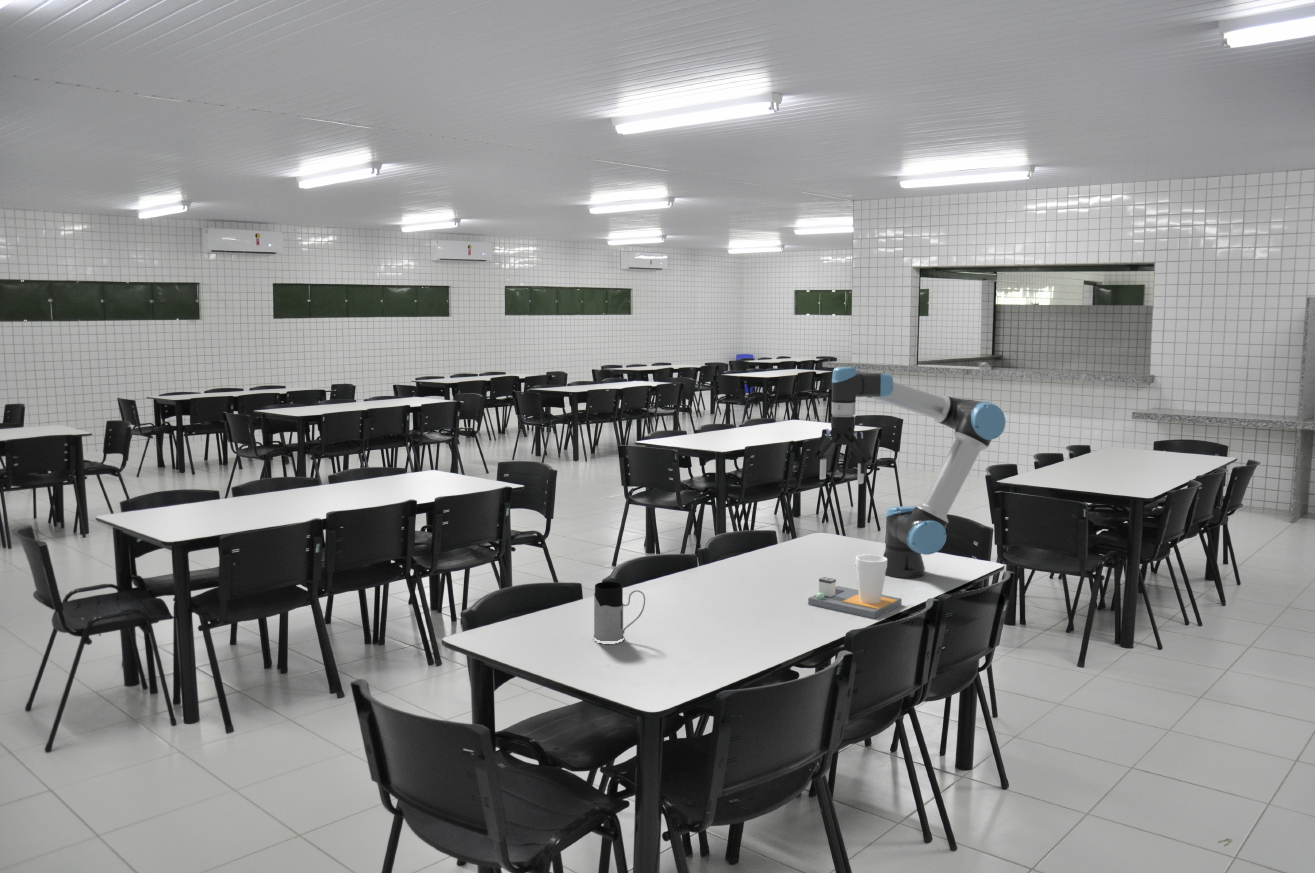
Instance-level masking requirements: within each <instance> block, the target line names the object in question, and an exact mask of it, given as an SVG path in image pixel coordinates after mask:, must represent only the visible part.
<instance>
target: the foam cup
mask: <svg viewBox="0 0 1315 873" xmlns="http://www.w3.org/2000/svg"><path fill="white" fill-rule="evenodd" d="M854 562H855V567H856V568H855V569H856V579H857V588H858V589H857V590H858V591H859V598H860V601H861V602H864V603H879V602H881V596H882V595H883V590H884V583H885V579H886V578H885V577H886V575H885V573H886V568H887V558H886V557H883V555H877V554H859V555H856V556H855V561H854Z"/></svg>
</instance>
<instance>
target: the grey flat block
mask: <svg viewBox="0 0 1315 873" xmlns="http://www.w3.org/2000/svg"><path fill="white" fill-rule="evenodd" d="M902 600H903V599H902V598H900V597H895V596H890V595H886V594H885V595H884V594H882V596H881V602H879V603H864V602H861V601H860V598H859V591H858V589H855V588H851V587H844V586H840V585H836V586H835V595H834V596H832V597H827V596H824V593H819V592H816V594H815V595H812V596H809V597H808V600H807V602H808V603H807V605H810V606H814V607H818V606H819V608H824V609H827V608H828V610H832V611H836V610H837V612H841V611H842V612H841V613H845V612H846V613H845V614H850V613H851V615H855V614H856V615H855V616H859V615H860V616H861V617H865V618H868V619H869V618H870V619H873V620H874V619H876V618H878V617H880V616H882V615H884V614H886V613H889V612H890V611H892V610H894V609H896V608H898V607H901V606H902Z"/></svg>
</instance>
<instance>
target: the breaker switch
mask: <svg viewBox="0 0 1315 873" xmlns="http://www.w3.org/2000/svg"><path fill="white" fill-rule="evenodd" d="M836 583H837V579H835V578H832V577H827V576H823V577H820V578H819V579H818V593H824V596H827V597H832V596H834V595H835V587H836V586H837V585H836Z"/></svg>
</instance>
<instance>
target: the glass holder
mask: <svg viewBox="0 0 1315 873" xmlns="http://www.w3.org/2000/svg"><path fill="white" fill-rule="evenodd" d="M623 589H624V587H623V583H621V582H617V581H601V582H598V583H596V584H594V593H593V596H594V597H593V598H594V599H593V603H594V604H593V613H594V614H593V618H594V619H593V623H594V624H593V625H594V626H593V627H594V628H593V631H594V632H593V633H594V634H593V637H594V638H596V639H597V640H600V641H618V640H620V639H623V638H625V635H624V634H625V631H626V630H627V628H629V627H630V626H631V625H633V624H634V623H635V622H636V621H637V620H638V619H639V618H640V617H641V616H642V614H643V612H644V610H645V605H646V597H645V594H644V592H643V591H641V590H639V589H635V590H632V591H631V592H630V593H629V594H628V595H629V596H628V603H626V604H624V603H623V601H624V600H623V596H624V595H623ZM636 592H637V593H640V594H642V596H643V605H642V609H641V611H640V613H639V614H638V616H636V617H635V619H633V621H630V623H628V624H627V625H626V626H625V627H624V607H627V606H629V605H630V603H631V596H632V595H633V594H634V593H636Z"/></svg>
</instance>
